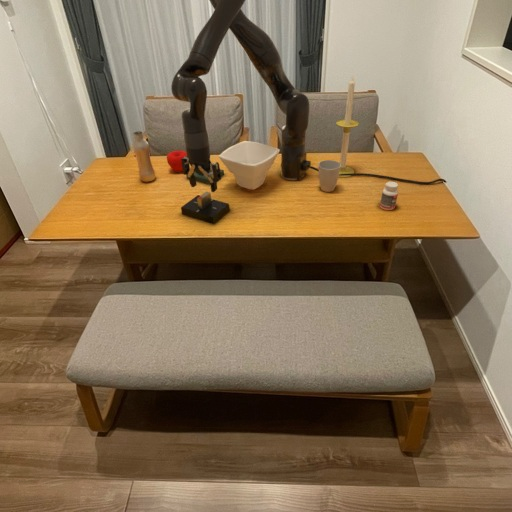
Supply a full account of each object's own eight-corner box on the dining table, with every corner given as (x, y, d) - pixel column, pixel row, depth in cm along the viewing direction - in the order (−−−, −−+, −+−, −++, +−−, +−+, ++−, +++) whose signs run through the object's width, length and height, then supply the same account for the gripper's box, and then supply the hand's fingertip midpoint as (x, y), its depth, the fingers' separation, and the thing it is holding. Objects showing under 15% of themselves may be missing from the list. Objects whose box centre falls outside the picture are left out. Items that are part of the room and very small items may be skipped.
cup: (340, 185, 151) (343, 161, 145) (334, 195, 145) (337, 170, 139) (320, 182, 154) (322, 158, 148) (314, 191, 148) (315, 167, 142)
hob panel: (229, 210, 140) (229, 203, 138) (213, 224, 133) (213, 216, 131) (198, 201, 145) (197, 194, 143) (182, 214, 139) (180, 207, 137)
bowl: (245, 170, 164) (243, 139, 156) (284, 181, 155) (284, 148, 147) (217, 188, 153) (213, 155, 144) (257, 202, 144) (256, 167, 135)
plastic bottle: (158, 176, 163) (148, 129, 151) (153, 183, 158) (142, 136, 146) (143, 176, 164) (132, 129, 152) (138, 183, 159) (126, 136, 146)
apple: (173, 176, 163) (170, 159, 158) (166, 169, 169) (163, 152, 164) (193, 171, 166) (190, 154, 161) (185, 164, 172) (182, 147, 167)
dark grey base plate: (224, 174, 162) (223, 166, 160) (210, 184, 156) (209, 175, 153) (201, 169, 167) (200, 160, 165) (186, 178, 161) (185, 170, 158)
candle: (327, 167, 164) (335, 72, 141) (351, 166, 164) (363, 71, 141) (332, 178, 156) (341, 79, 133) (356, 176, 156) (370, 78, 133)
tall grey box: (207, 201, 139) (206, 190, 137) (211, 202, 139) (210, 192, 136) (198, 208, 136) (196, 197, 133) (202, 209, 135) (200, 199, 132)
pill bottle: (392, 211, 135) (397, 189, 129) (377, 208, 137) (381, 185, 132) (396, 205, 138) (401, 182, 133) (382, 201, 141) (386, 179, 135)
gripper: (222, 142, 122) (227, 188, 132) (186, 135, 128) (193, 180, 138) (208, 151, 117) (214, 198, 127) (172, 144, 123) (180, 189, 133)
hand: (203, 188), depth 133 cm, fingers open, 8 cm apart
